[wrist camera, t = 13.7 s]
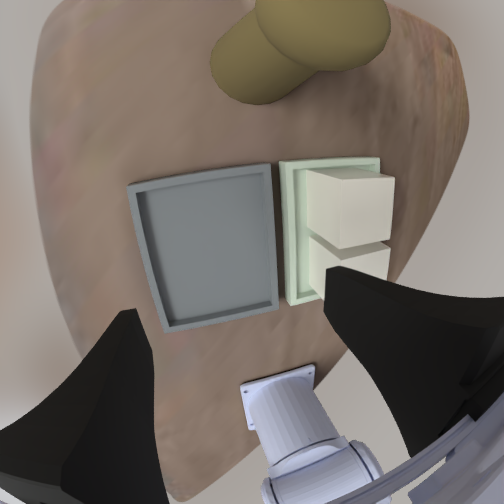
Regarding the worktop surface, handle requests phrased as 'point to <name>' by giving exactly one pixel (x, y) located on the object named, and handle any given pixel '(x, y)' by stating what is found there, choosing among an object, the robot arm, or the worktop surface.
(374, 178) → the stone block
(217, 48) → the cork
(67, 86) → the worktop surface
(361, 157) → the tray
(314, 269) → the stone block
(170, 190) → the tray
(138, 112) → the worktop surface
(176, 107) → the worktop surface
